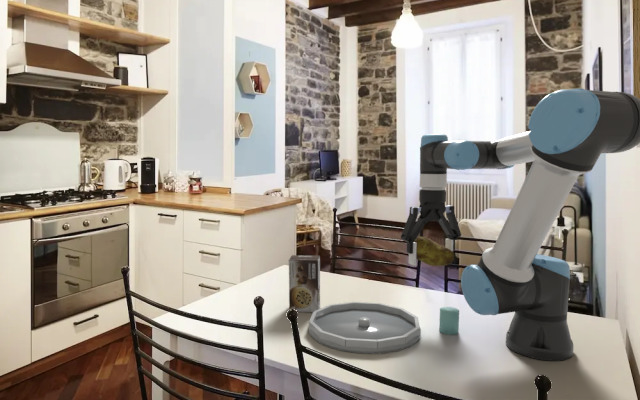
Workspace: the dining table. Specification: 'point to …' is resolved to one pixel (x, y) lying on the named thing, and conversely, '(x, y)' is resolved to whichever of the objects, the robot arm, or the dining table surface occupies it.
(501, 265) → the robot arm
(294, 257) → the coffee box
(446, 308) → the bead
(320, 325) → the ring tray
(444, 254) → the potato
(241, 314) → the dining table surface
